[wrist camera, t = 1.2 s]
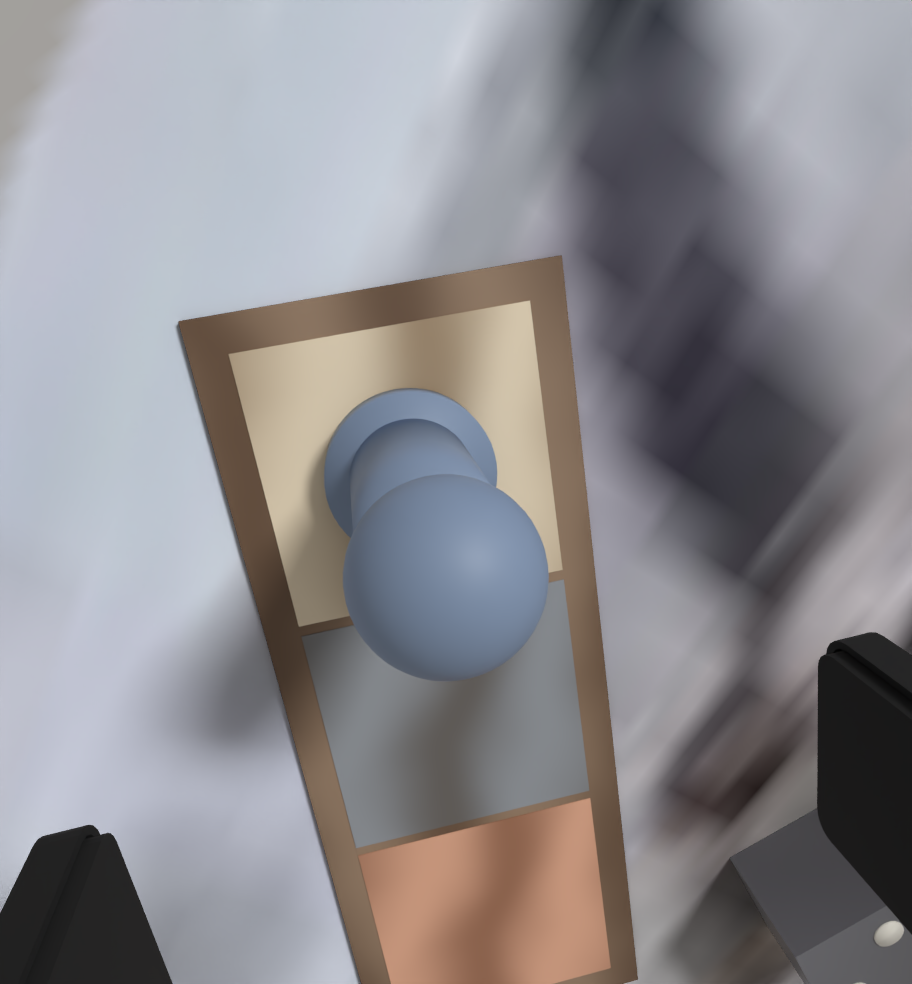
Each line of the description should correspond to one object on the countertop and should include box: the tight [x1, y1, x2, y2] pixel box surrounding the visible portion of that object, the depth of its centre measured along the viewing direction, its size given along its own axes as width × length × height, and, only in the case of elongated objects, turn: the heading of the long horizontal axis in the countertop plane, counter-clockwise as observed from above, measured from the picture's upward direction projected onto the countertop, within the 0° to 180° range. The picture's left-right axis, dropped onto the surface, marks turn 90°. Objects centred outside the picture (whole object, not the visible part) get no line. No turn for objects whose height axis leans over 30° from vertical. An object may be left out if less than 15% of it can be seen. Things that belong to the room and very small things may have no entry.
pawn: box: [324, 388, 549, 682], centre depth 20 cm, size 6×6×11 cm
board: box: [179, 256, 638, 984], centre depth 28 cm, size 12×32×1 cm, turn 9°
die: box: [730, 809, 912, 984], centre depth 31 cm, size 5×5×5 cm
